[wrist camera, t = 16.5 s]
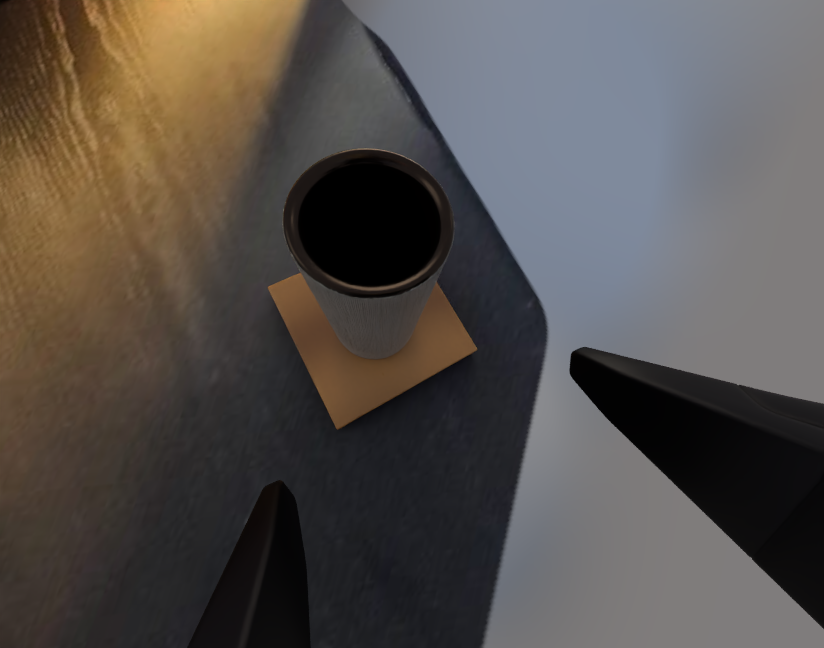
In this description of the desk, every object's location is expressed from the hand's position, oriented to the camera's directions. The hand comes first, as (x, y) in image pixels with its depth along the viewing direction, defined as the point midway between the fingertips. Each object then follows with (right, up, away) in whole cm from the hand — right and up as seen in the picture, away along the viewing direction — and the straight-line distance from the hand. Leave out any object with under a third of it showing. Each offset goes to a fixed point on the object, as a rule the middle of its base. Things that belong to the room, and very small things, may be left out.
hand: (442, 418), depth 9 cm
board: (-3, +3, +10) cm, 11 cm away
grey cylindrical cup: (-3, +3, +9) cm, 10 cm away
